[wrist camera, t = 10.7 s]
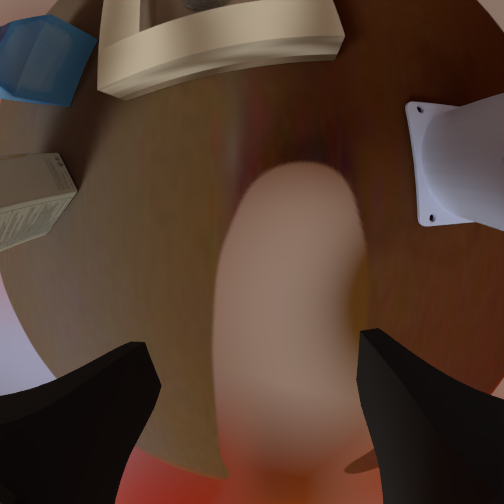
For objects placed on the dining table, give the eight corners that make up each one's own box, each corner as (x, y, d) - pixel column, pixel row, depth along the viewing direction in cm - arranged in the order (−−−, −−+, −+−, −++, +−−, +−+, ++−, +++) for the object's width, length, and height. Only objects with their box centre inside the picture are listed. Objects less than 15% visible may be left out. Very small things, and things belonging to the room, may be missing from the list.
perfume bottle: (69, 107, 16) (-52, 90, 4) (32, 102, 16) (-68, 94, 4) (97, 39, 14) (-6, -10, 3) (56, 43, 14) (-35, 14, 3)
